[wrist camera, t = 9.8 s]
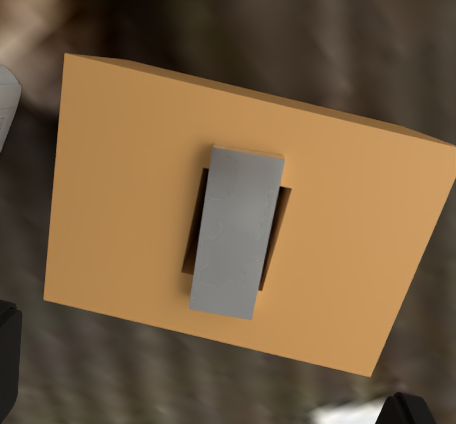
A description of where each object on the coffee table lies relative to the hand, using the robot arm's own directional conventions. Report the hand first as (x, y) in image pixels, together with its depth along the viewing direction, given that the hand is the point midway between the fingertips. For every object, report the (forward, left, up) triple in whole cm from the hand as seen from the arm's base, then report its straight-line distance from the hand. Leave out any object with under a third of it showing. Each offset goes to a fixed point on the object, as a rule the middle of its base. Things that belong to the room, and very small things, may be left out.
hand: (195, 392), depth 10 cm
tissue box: (0, 0, -22) cm, 22 cm away
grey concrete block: (0, 0, -20) cm, 20 cm away
